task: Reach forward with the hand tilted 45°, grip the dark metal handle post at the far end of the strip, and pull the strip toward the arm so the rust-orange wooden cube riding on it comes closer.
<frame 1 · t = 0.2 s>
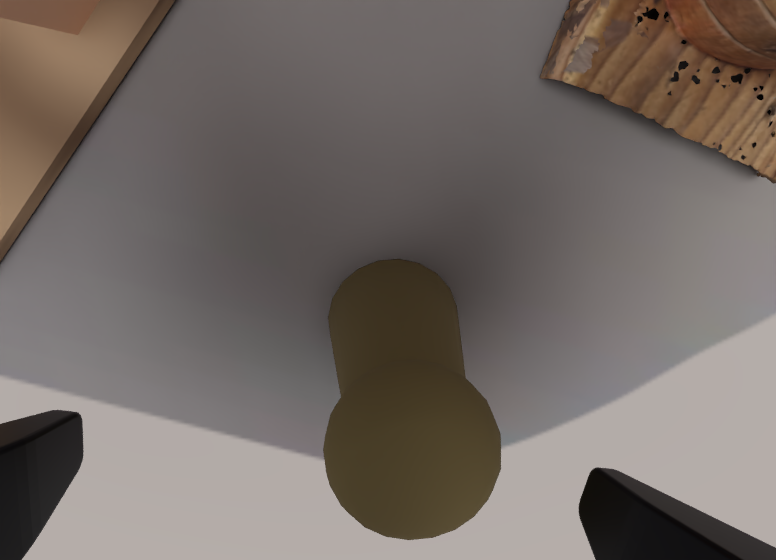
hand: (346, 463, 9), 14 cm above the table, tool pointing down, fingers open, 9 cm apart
cork: (393, 319, 24), on the table
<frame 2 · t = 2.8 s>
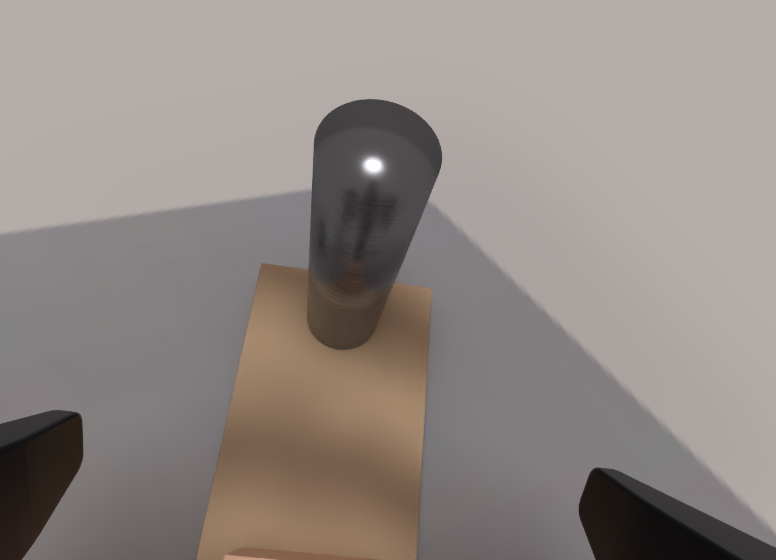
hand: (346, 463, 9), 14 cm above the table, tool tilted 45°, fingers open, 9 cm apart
strip: (326, 470, 15), point 7 cm above the table, slide at 0.0 cm, touching cube
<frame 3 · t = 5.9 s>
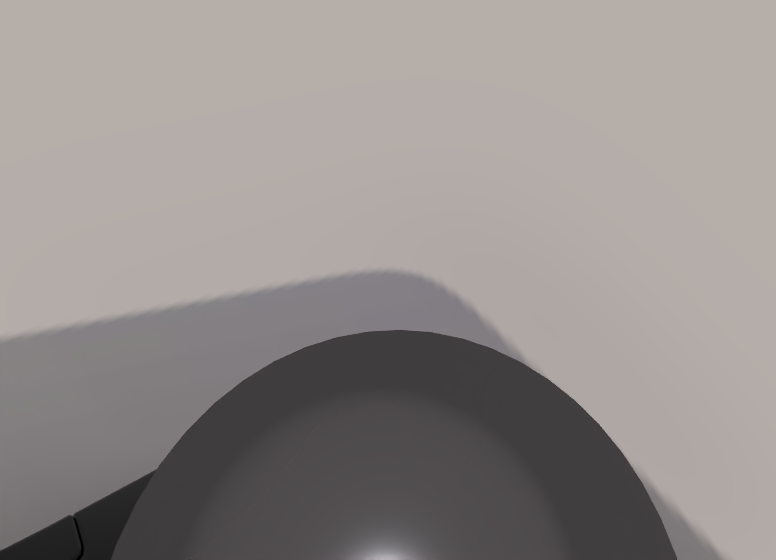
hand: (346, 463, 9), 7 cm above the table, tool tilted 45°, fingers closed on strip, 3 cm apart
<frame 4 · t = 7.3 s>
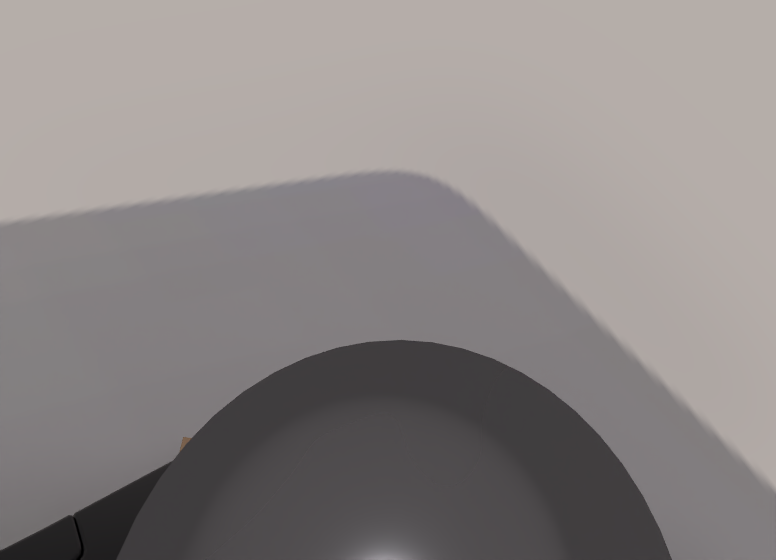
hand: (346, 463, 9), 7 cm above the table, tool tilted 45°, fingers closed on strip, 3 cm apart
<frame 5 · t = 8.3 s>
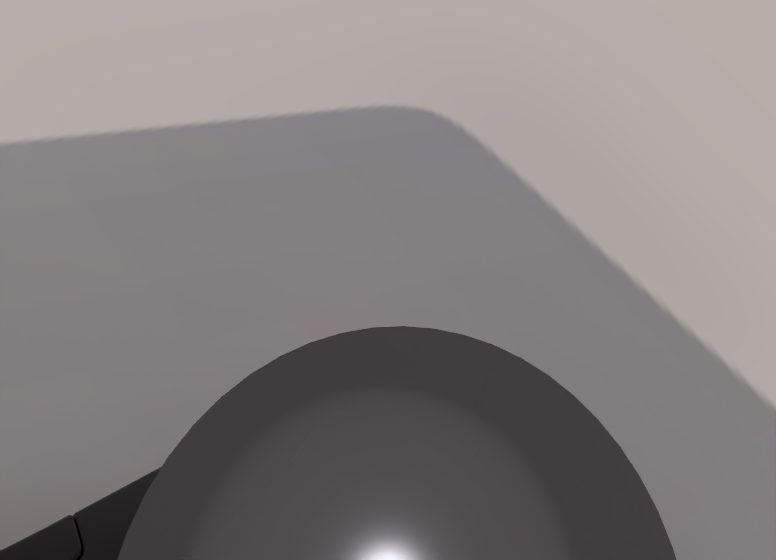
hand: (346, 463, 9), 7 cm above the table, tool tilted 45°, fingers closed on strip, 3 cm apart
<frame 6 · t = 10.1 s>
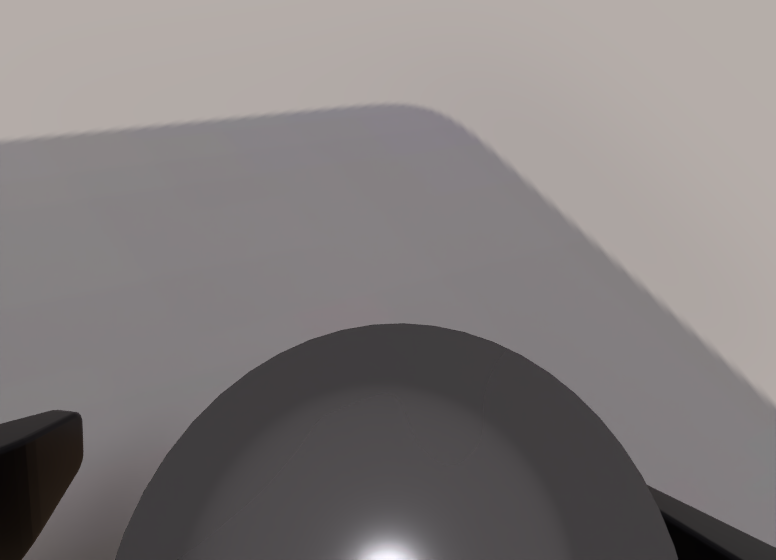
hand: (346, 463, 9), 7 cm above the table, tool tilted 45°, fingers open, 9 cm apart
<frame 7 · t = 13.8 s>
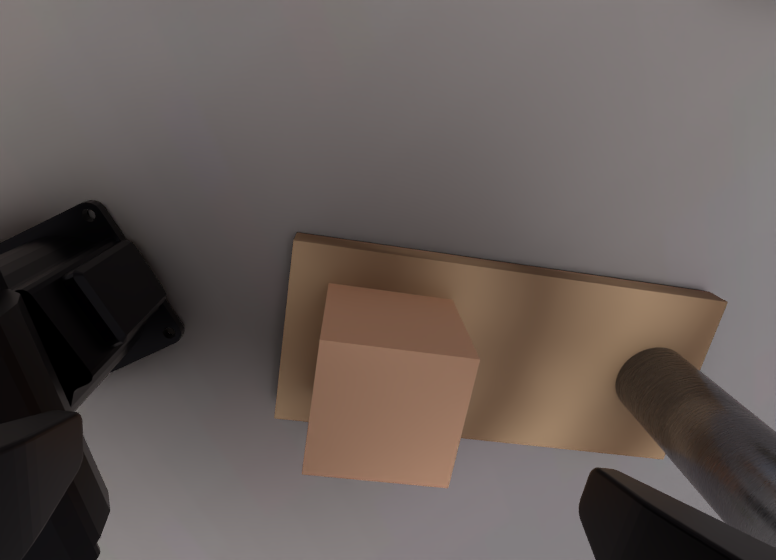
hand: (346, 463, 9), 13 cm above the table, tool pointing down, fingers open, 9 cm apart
cube: (381, 347, 21), point 1 cm above the table, touching strip
strip: (537, 438, 17), point 7 cm above the table, slide at 7.9 cm, touching cube
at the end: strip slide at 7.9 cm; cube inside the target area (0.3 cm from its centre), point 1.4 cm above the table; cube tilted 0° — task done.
